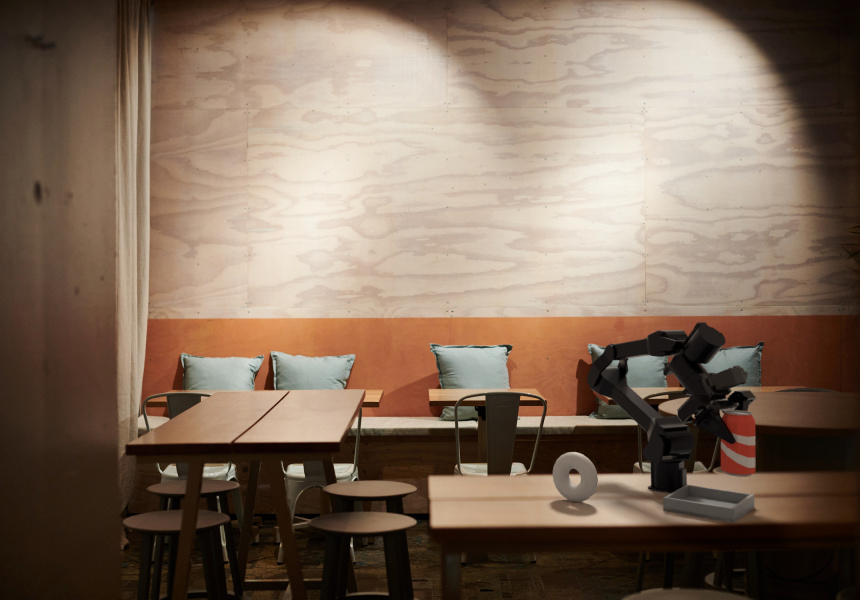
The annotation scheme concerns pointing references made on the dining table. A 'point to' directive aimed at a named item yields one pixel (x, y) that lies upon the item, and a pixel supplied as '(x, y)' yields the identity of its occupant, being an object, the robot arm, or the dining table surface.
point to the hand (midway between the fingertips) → (744, 440)
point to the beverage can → (739, 444)
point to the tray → (709, 503)
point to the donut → (586, 472)
